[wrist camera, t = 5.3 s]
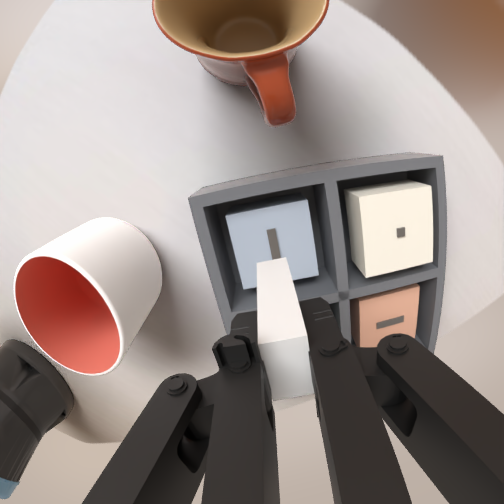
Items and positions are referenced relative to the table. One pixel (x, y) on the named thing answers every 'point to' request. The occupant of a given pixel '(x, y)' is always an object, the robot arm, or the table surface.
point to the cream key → (390, 226)
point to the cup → (89, 294)
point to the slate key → (273, 236)
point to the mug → (245, 43)
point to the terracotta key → (384, 315)
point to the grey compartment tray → (327, 236)
